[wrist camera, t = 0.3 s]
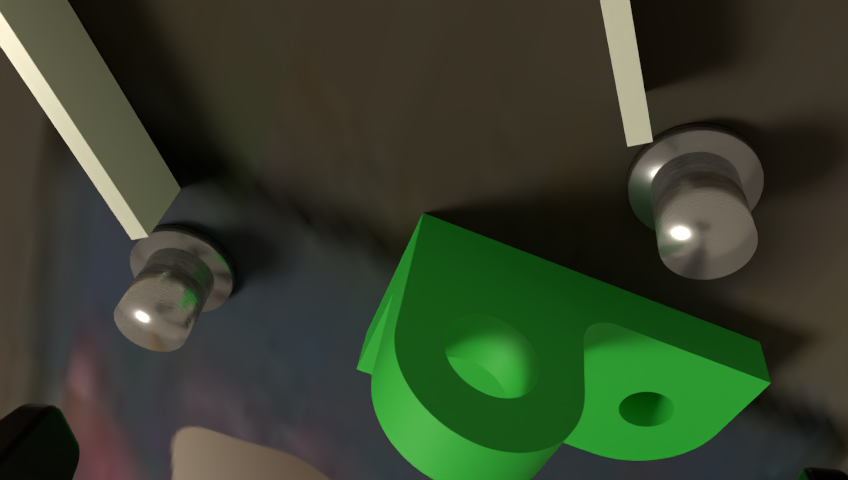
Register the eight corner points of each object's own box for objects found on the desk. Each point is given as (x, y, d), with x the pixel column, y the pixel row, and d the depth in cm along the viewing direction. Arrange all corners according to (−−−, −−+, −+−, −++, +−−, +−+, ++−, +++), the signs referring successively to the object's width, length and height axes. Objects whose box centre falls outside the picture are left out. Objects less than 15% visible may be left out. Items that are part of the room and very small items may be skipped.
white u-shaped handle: (644, 92, 20) (652, 141, 18) (165, 192, 25) (131, 239, 23) (577, -313, 15) (579, -304, 13) (-12, -94, 20) (-74, -64, 18)
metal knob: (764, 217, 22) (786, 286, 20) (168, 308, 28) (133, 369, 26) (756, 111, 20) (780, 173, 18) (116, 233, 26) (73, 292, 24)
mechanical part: (368, 327, 28) (311, 527, 22) (424, 208, 24) (375, 409, 18) (662, 434, 29) (687, 650, 23) (758, 337, 26) (819, 564, 19)
